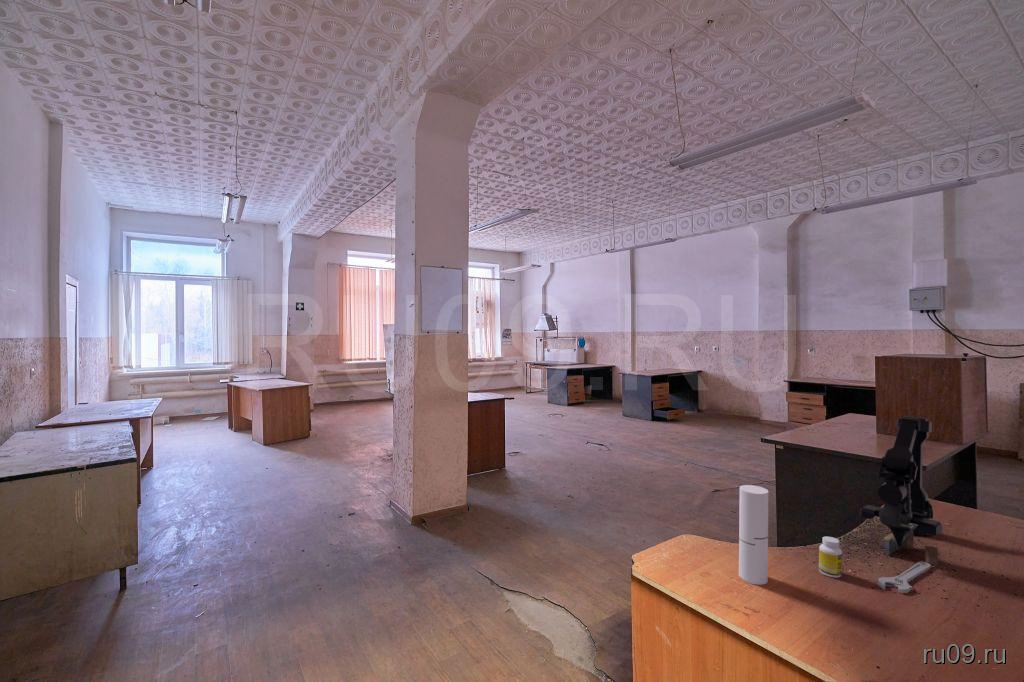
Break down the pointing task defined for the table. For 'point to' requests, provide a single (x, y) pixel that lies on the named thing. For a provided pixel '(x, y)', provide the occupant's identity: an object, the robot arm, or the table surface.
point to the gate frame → (930, 551)
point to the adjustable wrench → (904, 577)
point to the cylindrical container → (753, 534)
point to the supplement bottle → (830, 557)
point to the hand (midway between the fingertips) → (900, 547)
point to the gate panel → (890, 544)
